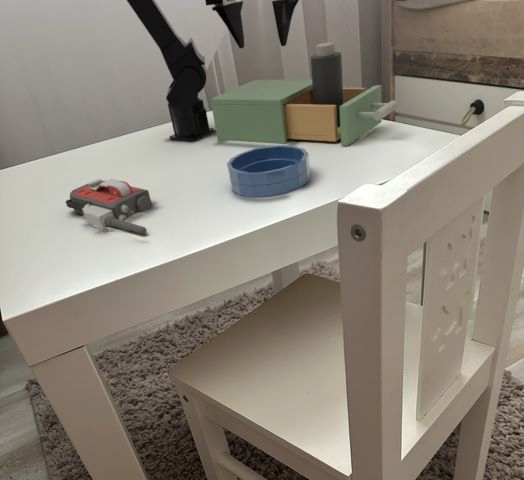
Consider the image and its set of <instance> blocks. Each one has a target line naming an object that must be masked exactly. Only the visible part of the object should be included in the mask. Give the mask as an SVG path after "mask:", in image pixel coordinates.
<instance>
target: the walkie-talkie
mask: <svg viewBox="0 0 524 480" xmlns="http://www.w3.org/2000/svg"><path fill="white" fill-rule="evenodd" d="M65 204H66V207H67V208H69V209H73V210H74V212H75V213H77V214H79V215H83V216H84V217H85V220H86V223H88V224H90V225H91V227H92V226H93V227H96V228H98V229H100V230H102V231H105V230H107V229H108V228H107V227H111V228H118V229H120V230H123V231H128V232H136V233H138V234H139V233H140V234H147V233H148V230H147V228H146V227H145V226H142V225H139V224H135V223H132V222H128V221H124V220H127V218H128V217H130V216H131V215H134V214H136V213H139V212H142V213H143V212H145V211H147V210H149V209H151V206H152V205H153V204H152V200H151V195H150V192H149V190H148V189H144V188H140V187H136V186H132V185H130V184H129V183H128V182H127V181H125V180H118V179H114V178H110V179H107V180H102V179H101V178H98V179H96V180H93V181H90V182H88V183H86V184H84V185H81V186H80V187H76V188H74V189H72V190H71V192H70V193H69V199H67V200H65Z"/></svg>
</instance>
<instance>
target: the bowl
mask: <svg viewBox="0 0 524 480" xmlns="http://www.w3.org/2000/svg"><path fill="white" fill-rule="evenodd" d="M226 167H227V174H228V179H229V186H230V188H231V191H232V192H233V193H235V194H237V195H239V196H242V197H243V196H244V197H251V198H261V197H262V198H263V197H273V196H279V195H283V194H286V193H290V192H291V191H295V190H298V189H300V188H301V187H303V186H305V184H307V183H309V179H310V177H311V171H310V156H309V152H308V151H307V150H306V149H305V148H302V147H299V146H296V145H286V144H280V145H279V144H277V145H268V146H262V147H257V148H252V149H249V150H247V151H243V152H240V153H238V154H236V155H235V156H232V157H231V158H230V159H229V161H228V162H227V163H226Z"/></svg>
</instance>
